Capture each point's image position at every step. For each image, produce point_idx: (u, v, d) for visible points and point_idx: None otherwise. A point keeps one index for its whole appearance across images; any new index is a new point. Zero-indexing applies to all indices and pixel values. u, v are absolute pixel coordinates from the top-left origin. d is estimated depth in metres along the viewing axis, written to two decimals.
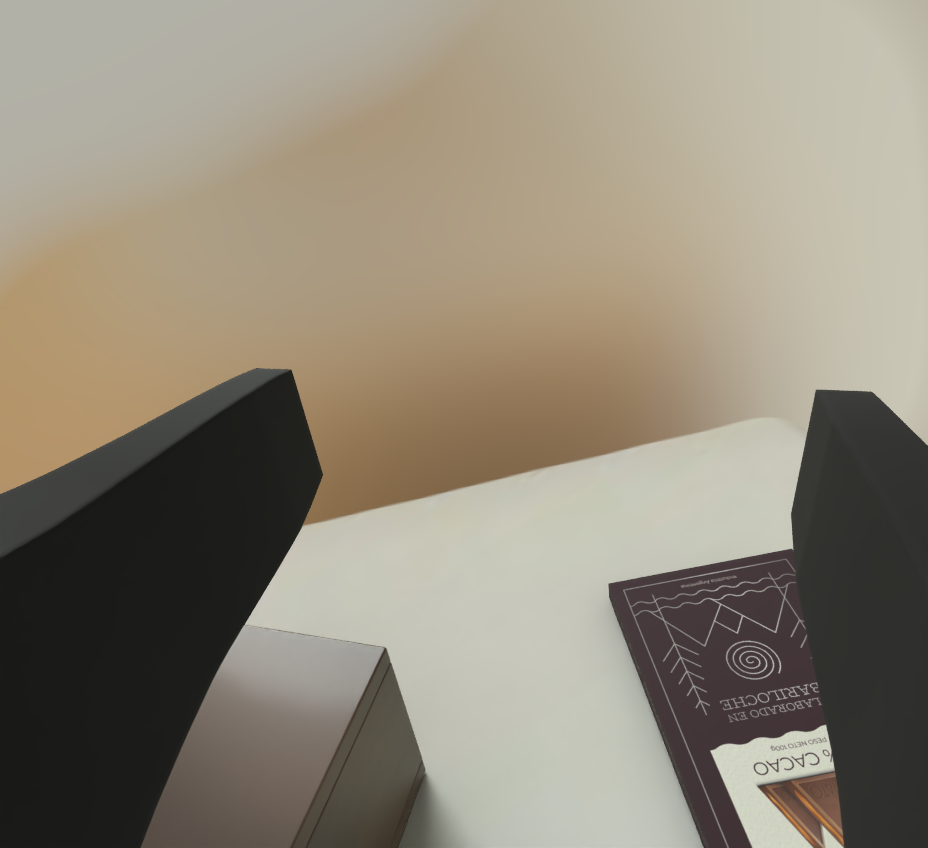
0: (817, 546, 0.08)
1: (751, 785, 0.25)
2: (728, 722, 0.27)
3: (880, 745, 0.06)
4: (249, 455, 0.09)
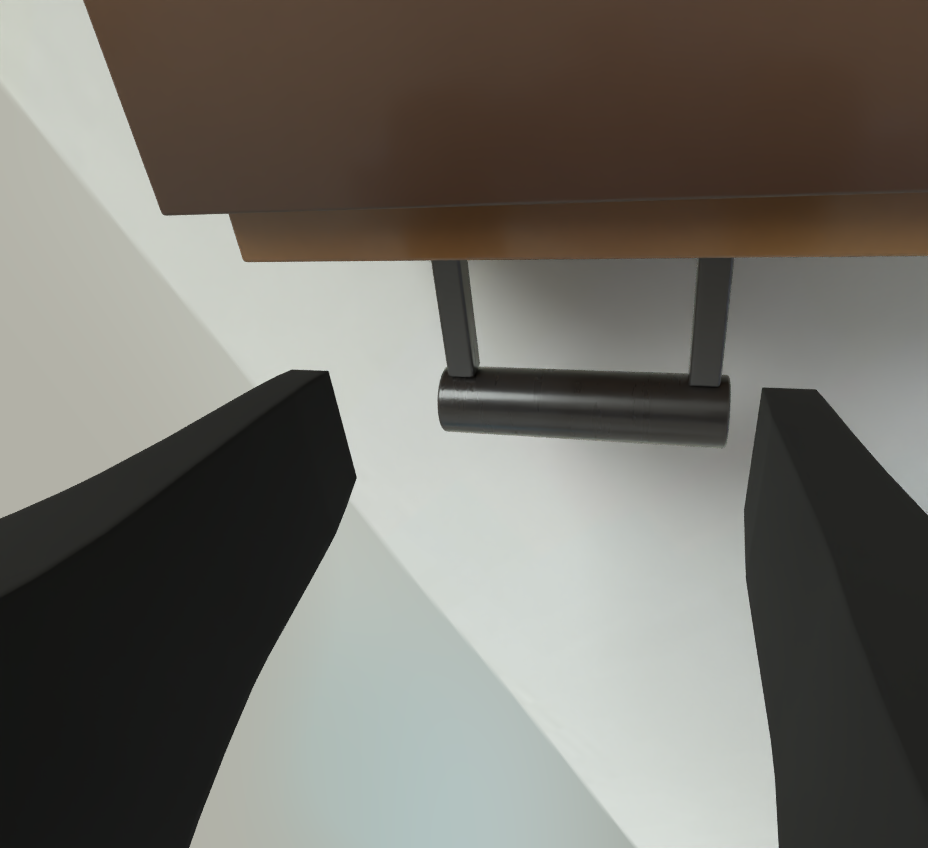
0: (761, 541, 0.08)
1: None
2: None
3: (804, 733, 0.06)
4: (289, 458, 0.09)
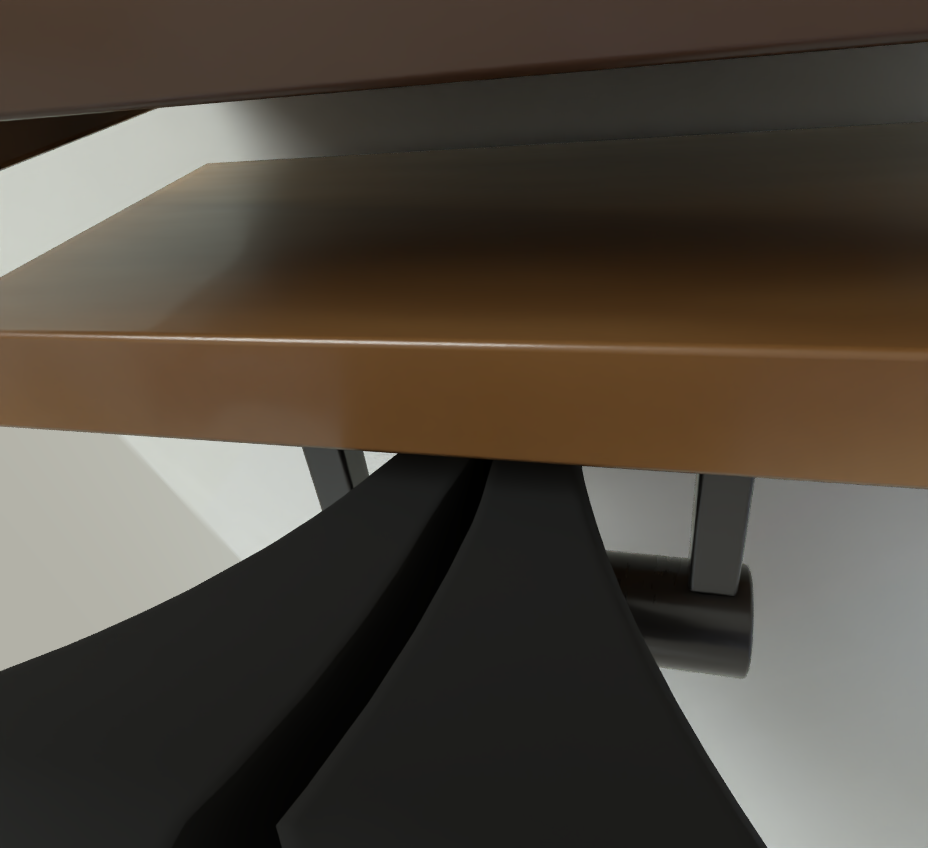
0: None
1: None
2: None
3: None
4: None
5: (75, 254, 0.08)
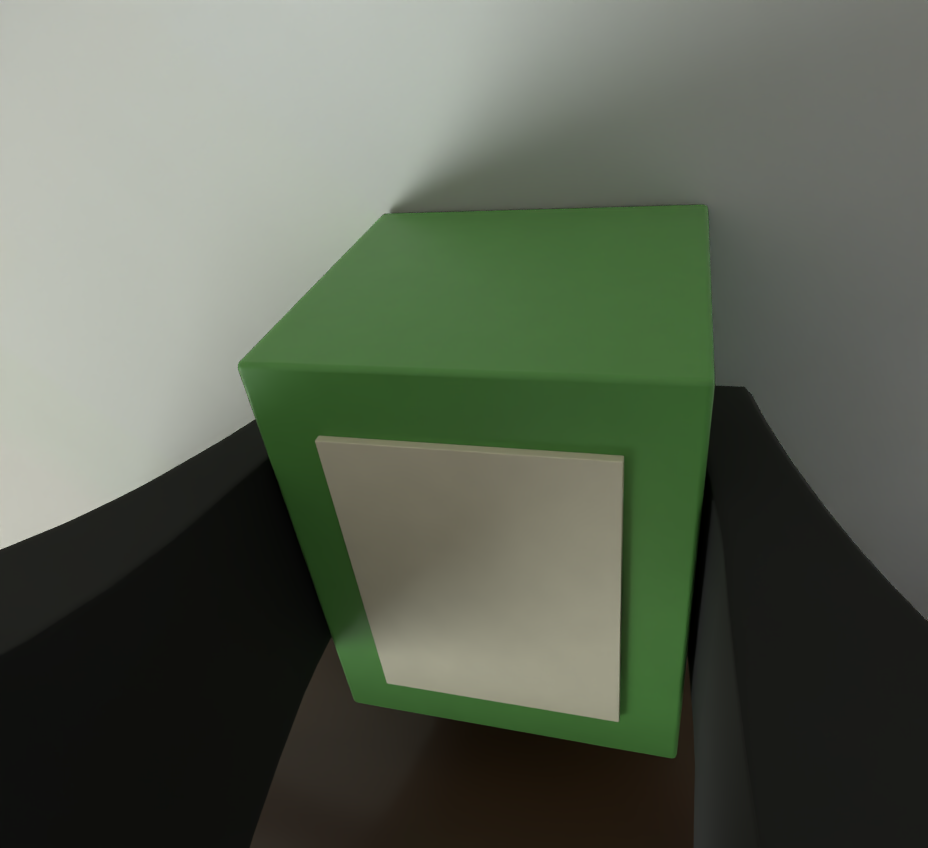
0: None
1: None
2: None
3: (707, 717, 0.06)
4: None
5: None
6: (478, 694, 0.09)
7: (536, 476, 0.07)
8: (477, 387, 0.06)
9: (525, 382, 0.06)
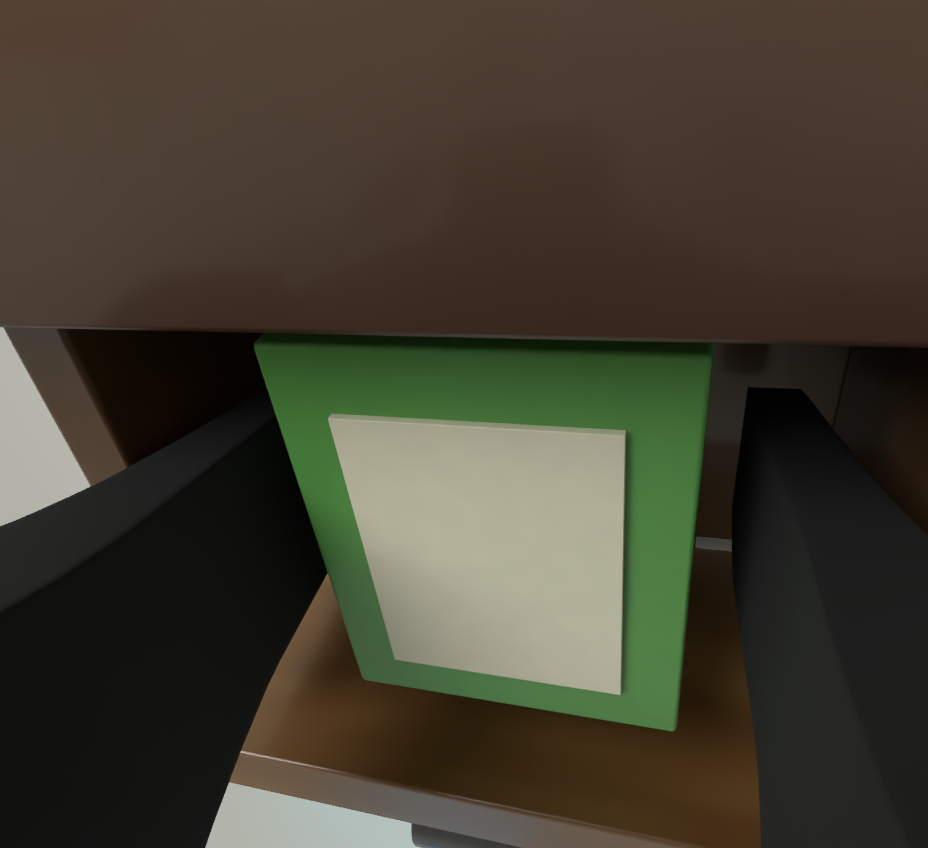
0: (745, 540, 0.08)
1: None
2: None
3: (783, 730, 0.06)
4: None
5: None
6: (484, 670, 0.09)
7: (541, 451, 0.07)
8: (485, 365, 0.06)
9: (530, 359, 0.06)
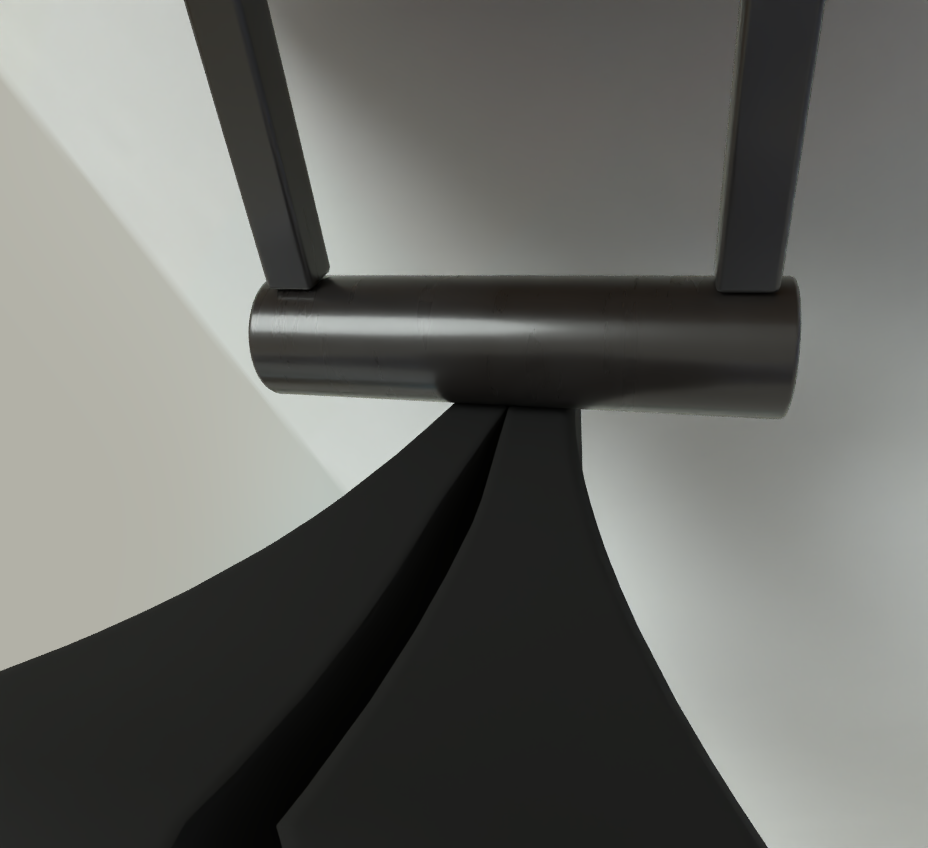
0: None
1: None
2: None
3: None
4: None
5: None
6: None
7: None
8: None
9: None
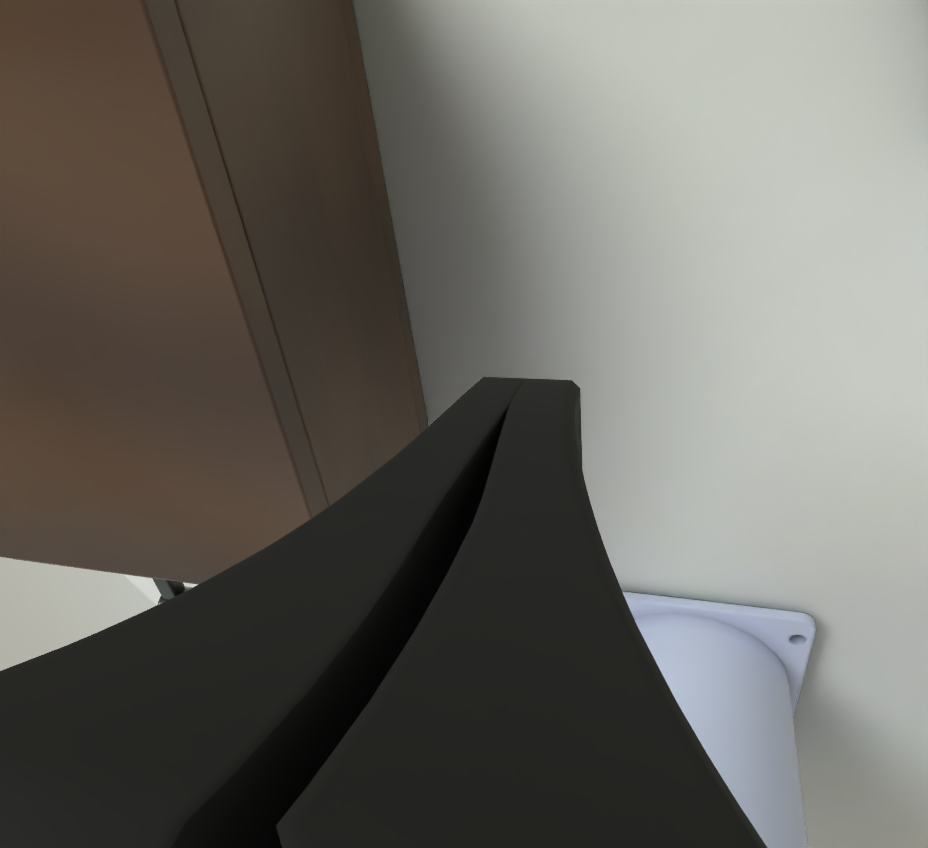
0: None
1: None
2: None
3: None
4: None
5: None
6: None
7: None
8: None
9: None
